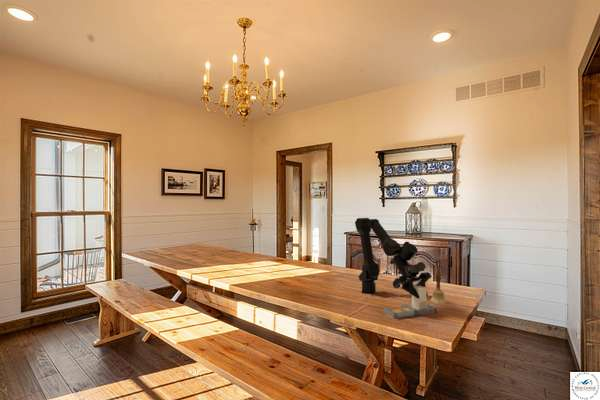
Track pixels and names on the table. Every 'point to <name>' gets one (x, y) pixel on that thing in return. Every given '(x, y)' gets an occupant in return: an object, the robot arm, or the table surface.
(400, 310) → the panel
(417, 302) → the cream rectangular block
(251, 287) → the table surface
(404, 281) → the robot arm
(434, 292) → the hand bell
